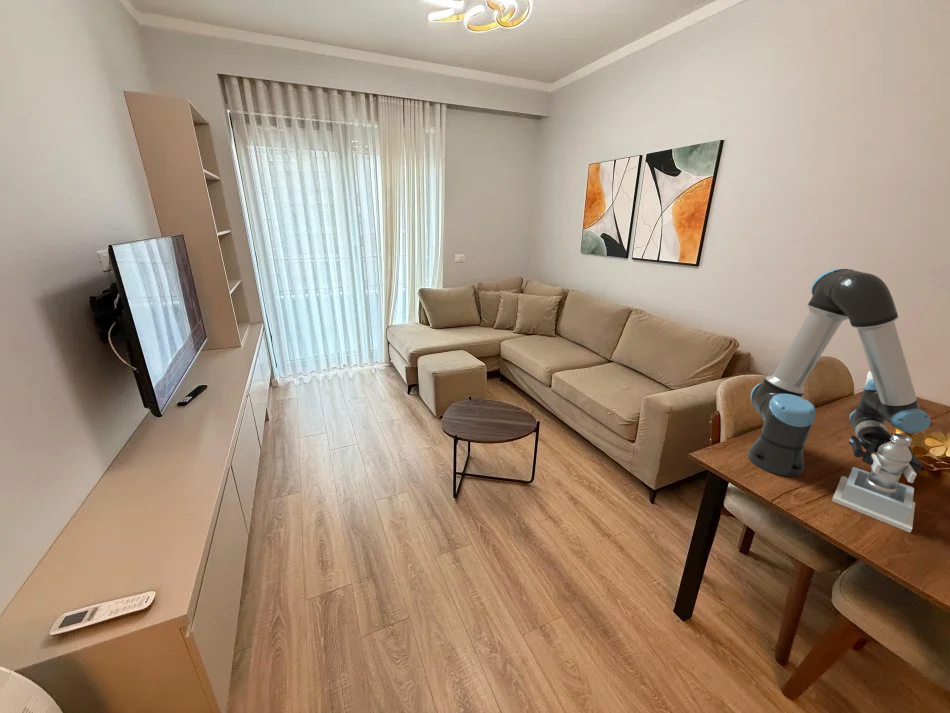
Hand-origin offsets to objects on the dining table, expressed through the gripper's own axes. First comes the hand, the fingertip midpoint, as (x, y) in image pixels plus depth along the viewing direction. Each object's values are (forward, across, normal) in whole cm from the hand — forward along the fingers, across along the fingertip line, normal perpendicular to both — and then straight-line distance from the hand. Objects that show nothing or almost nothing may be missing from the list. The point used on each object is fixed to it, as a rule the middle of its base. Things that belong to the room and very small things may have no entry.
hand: (894, 473), depth 104 cm
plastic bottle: (-5, 0, -11) cm, 12 cm away
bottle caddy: (-5, 0, -14) cm, 14 cm away
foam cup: (-101, -17, -14) cm, 103 cm away
